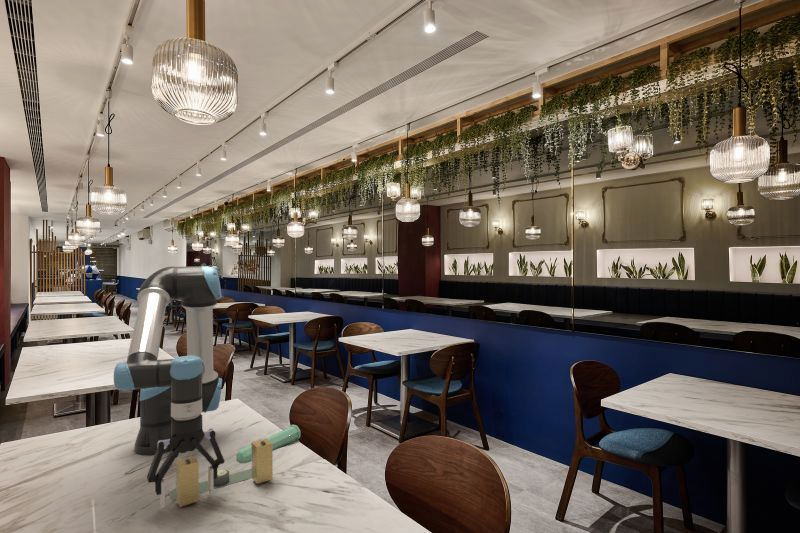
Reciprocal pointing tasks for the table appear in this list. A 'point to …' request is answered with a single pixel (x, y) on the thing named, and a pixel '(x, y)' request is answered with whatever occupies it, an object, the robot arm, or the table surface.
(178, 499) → the knob near
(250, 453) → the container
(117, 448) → the table surface
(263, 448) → the knob far
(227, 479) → the base plate
